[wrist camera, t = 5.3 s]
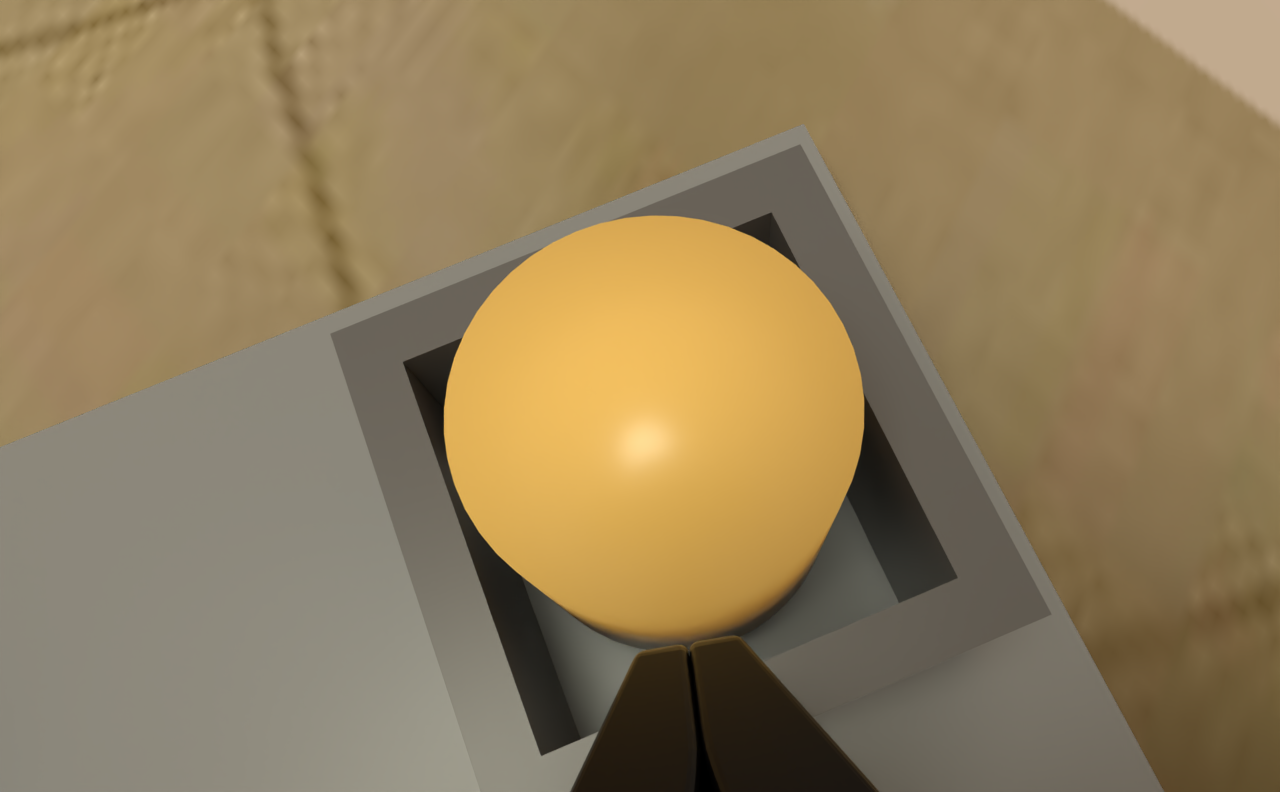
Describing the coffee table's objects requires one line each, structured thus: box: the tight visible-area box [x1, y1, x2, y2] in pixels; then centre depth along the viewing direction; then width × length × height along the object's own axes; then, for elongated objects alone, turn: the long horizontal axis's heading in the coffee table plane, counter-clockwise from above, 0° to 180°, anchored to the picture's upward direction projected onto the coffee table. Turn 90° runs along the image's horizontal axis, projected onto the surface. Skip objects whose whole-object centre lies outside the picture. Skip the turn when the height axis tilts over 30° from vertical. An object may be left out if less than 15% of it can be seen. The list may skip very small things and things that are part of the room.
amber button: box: [444, 216, 864, 651], centre depth 13 cm, size 4×4×4 cm
